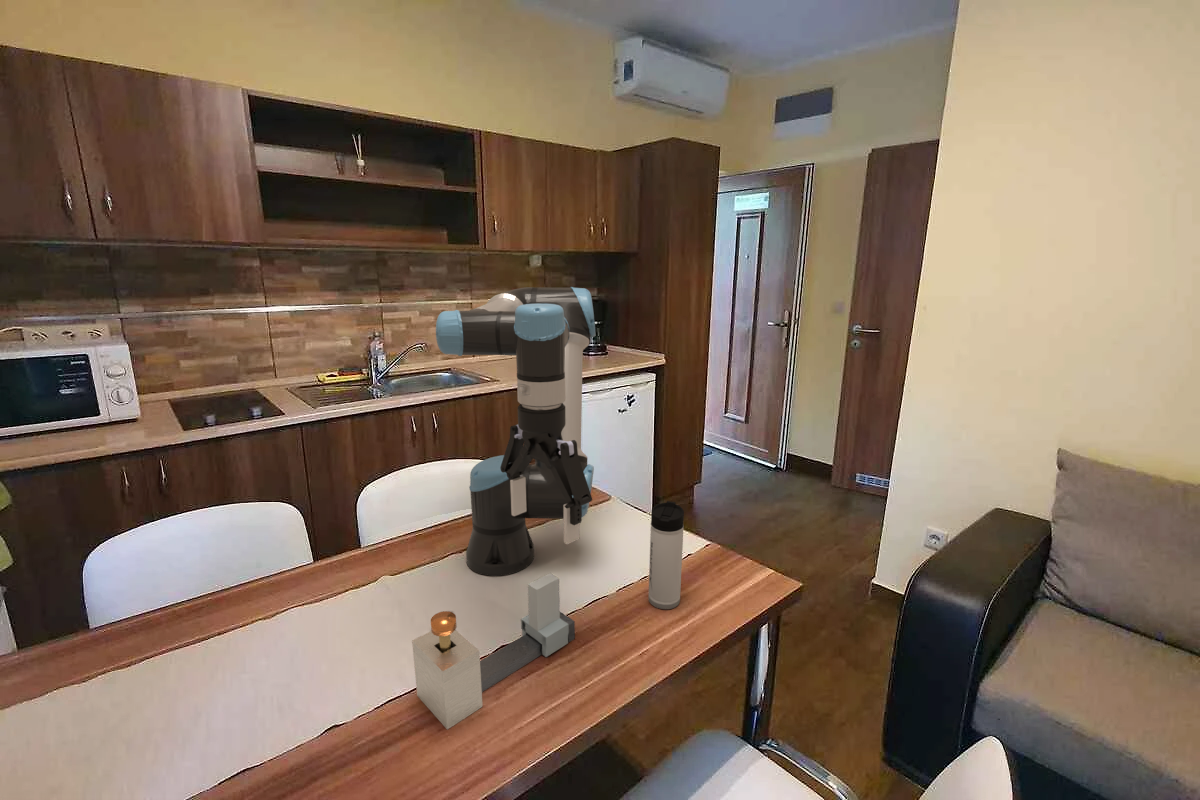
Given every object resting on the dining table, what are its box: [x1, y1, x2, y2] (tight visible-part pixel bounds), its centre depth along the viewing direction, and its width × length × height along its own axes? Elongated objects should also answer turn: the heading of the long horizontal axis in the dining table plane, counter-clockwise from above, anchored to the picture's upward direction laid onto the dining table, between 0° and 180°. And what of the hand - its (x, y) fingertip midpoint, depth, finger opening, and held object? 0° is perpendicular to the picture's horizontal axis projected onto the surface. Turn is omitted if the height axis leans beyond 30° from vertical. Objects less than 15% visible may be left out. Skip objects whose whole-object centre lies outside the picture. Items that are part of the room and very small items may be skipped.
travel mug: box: [647, 500, 685, 610], centre depth 108 cm, size 6×7×20 cm
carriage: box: [520, 572, 569, 658], centre depth 97 cm, size 7×5×12 cm
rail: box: [411, 611, 576, 731], centre depth 91 cm, size 9×26×10 cm, turn 135°
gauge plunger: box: [430, 610, 458, 653], centre depth 83 cm, size 4×4×9 cm
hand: (544, 526), depth 93 cm, fingers open, 13 cm apart
